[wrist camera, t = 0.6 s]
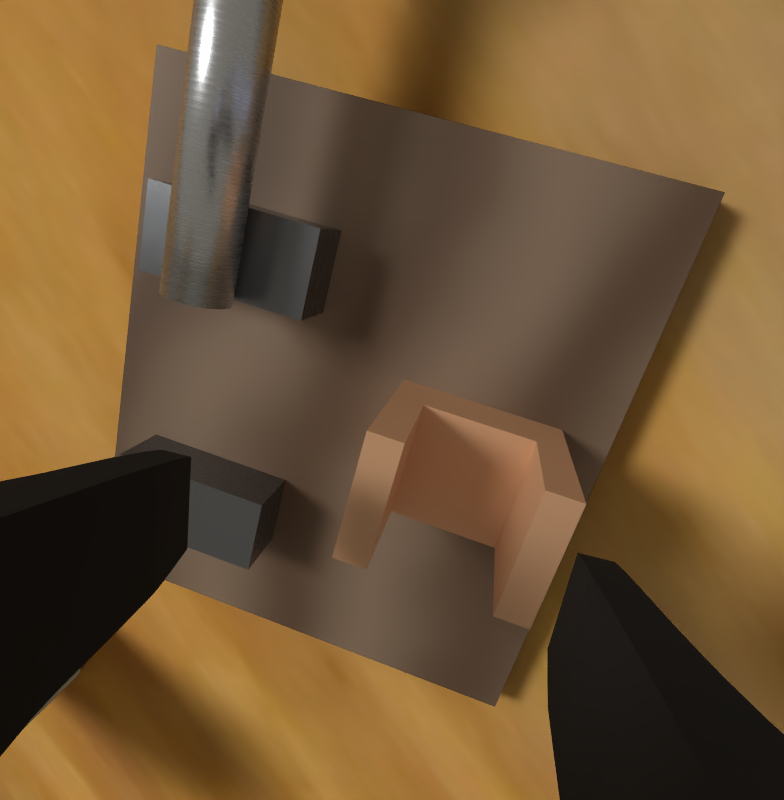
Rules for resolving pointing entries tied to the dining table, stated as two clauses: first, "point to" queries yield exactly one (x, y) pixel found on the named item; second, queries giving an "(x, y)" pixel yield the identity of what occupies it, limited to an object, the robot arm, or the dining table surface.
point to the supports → (270, 290)
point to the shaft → (217, 148)
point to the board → (405, 349)
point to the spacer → (468, 489)
